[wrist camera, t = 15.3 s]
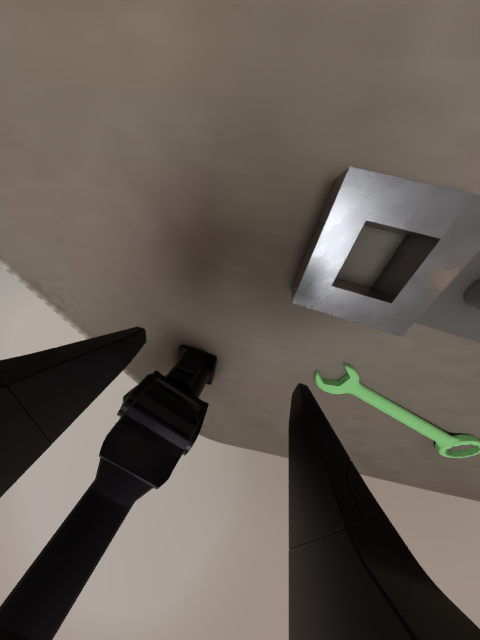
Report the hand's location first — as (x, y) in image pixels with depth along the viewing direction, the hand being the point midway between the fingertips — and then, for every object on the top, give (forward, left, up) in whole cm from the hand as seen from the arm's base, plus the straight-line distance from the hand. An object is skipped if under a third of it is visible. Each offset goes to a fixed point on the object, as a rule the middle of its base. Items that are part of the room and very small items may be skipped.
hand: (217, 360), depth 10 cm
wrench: (-11, -24, -14) cm, 30 cm away
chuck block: (+6, -9, -13) cm, 17 cm away
